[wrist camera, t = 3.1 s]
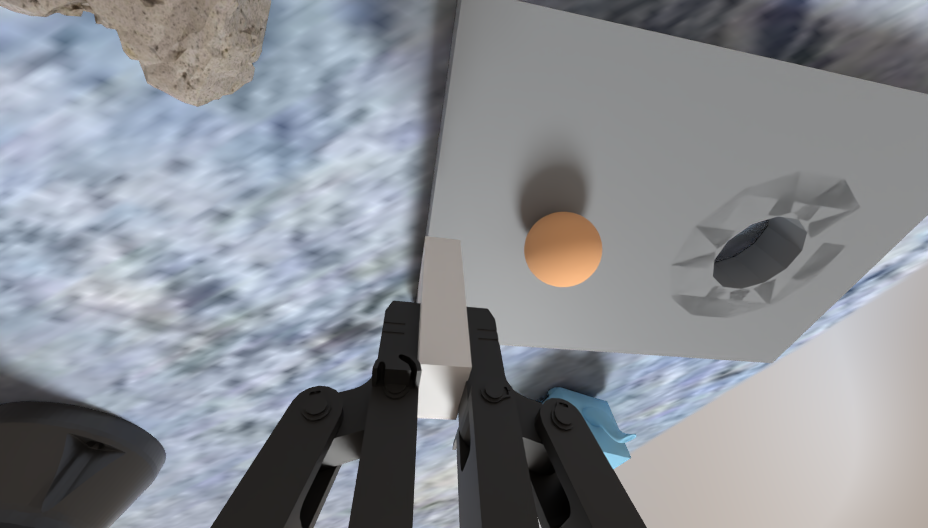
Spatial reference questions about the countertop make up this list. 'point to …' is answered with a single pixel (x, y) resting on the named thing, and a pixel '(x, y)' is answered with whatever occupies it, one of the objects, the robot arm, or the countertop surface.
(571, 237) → the ball
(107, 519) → the robot arm
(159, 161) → the countertop surface
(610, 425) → the light blue teapot
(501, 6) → the plate
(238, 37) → the stone
